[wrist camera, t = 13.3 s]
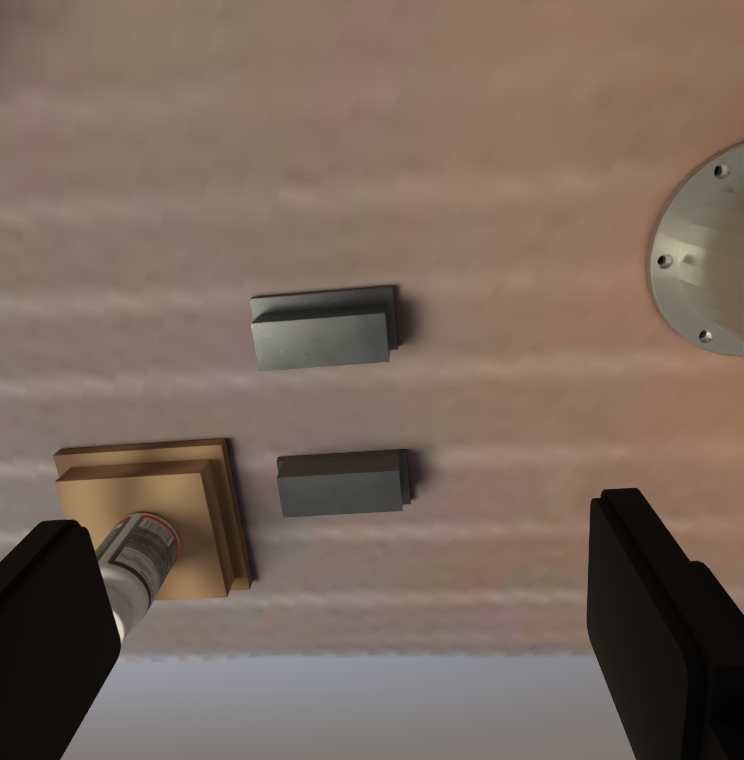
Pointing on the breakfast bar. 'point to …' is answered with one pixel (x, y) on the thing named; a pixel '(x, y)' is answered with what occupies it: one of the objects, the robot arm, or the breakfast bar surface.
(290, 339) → the clamp jaws
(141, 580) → the pill bottle
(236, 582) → the tan square pedestal
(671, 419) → the breakfast bar surface
